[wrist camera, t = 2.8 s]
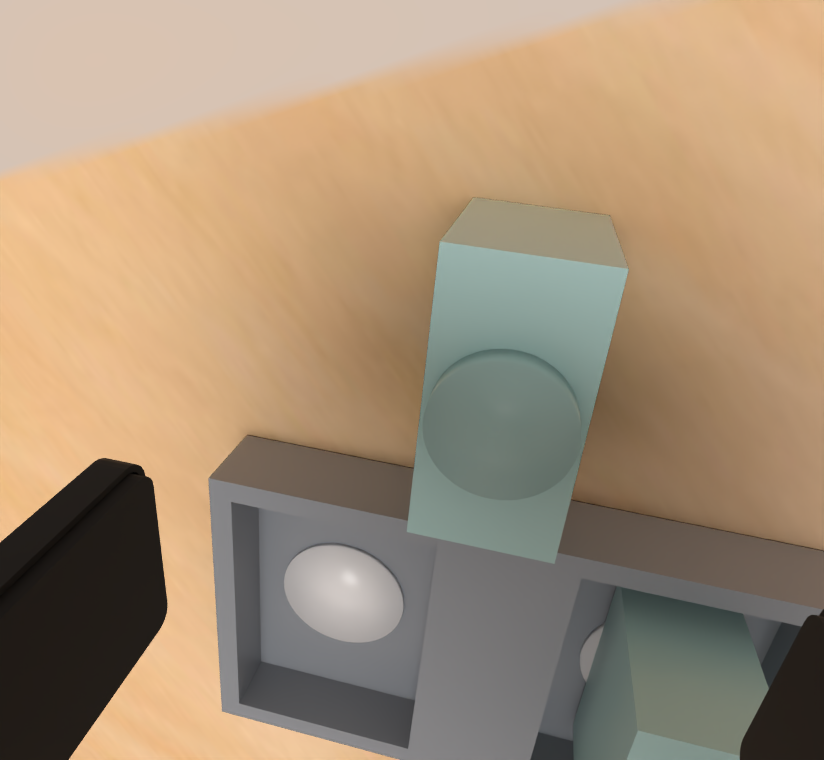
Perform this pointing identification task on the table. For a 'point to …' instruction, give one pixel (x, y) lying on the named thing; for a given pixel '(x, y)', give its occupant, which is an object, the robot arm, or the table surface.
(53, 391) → the table surface
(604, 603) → the tray
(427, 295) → the table surface
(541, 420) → the block with round boss
